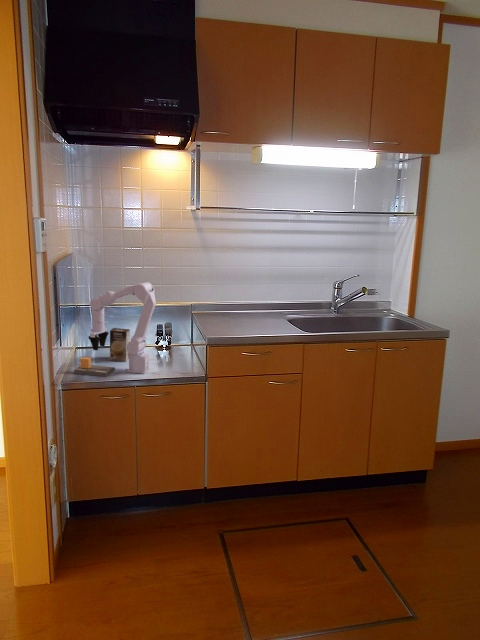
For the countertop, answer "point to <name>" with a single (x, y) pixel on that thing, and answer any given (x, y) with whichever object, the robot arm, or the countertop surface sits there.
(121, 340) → the coffee box
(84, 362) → the knob
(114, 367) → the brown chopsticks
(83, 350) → the countertop surface
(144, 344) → the robot arm
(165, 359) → the countertop surface
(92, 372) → the switch panel
